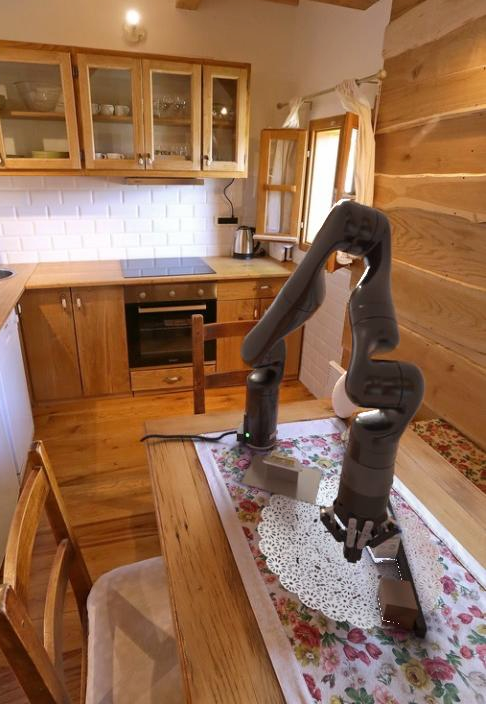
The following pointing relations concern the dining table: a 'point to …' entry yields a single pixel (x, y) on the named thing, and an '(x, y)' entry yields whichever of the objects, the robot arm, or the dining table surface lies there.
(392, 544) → the medicine box
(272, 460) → the platform
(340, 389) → the air dust blower
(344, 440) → the beige icosahedron
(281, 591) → the dining table surface
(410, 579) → the straightedge
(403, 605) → the walnut block
